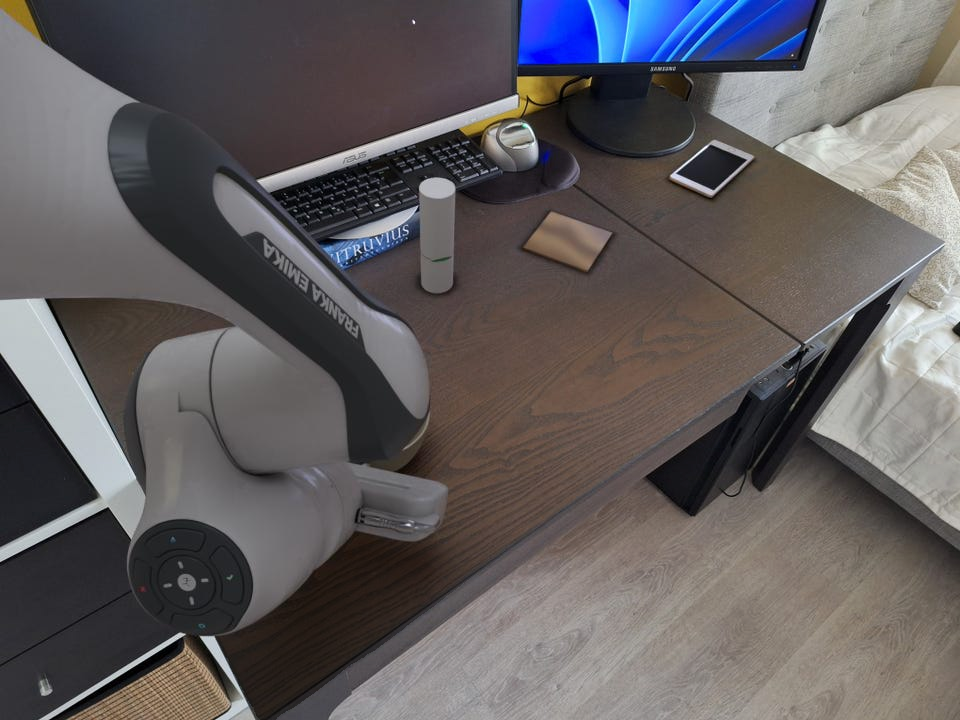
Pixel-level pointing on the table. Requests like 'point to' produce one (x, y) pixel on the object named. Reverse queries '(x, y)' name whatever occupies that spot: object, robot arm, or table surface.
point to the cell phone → (711, 168)
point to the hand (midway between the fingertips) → (355, 468)
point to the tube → (437, 234)
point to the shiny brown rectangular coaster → (568, 241)
